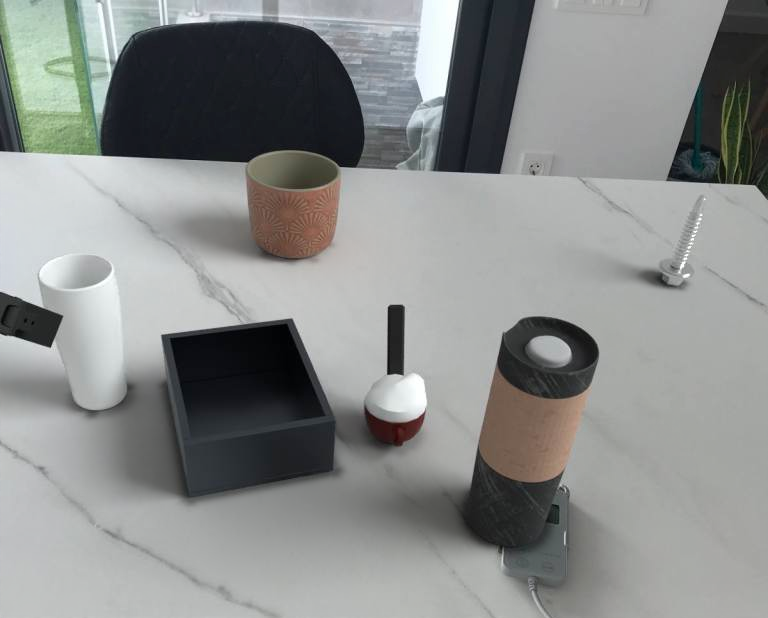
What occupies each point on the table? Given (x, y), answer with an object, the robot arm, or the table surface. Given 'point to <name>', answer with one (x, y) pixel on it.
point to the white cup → (87, 326)
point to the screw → (683, 248)
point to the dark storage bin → (247, 406)
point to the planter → (293, 202)
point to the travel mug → (529, 427)
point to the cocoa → (396, 390)
